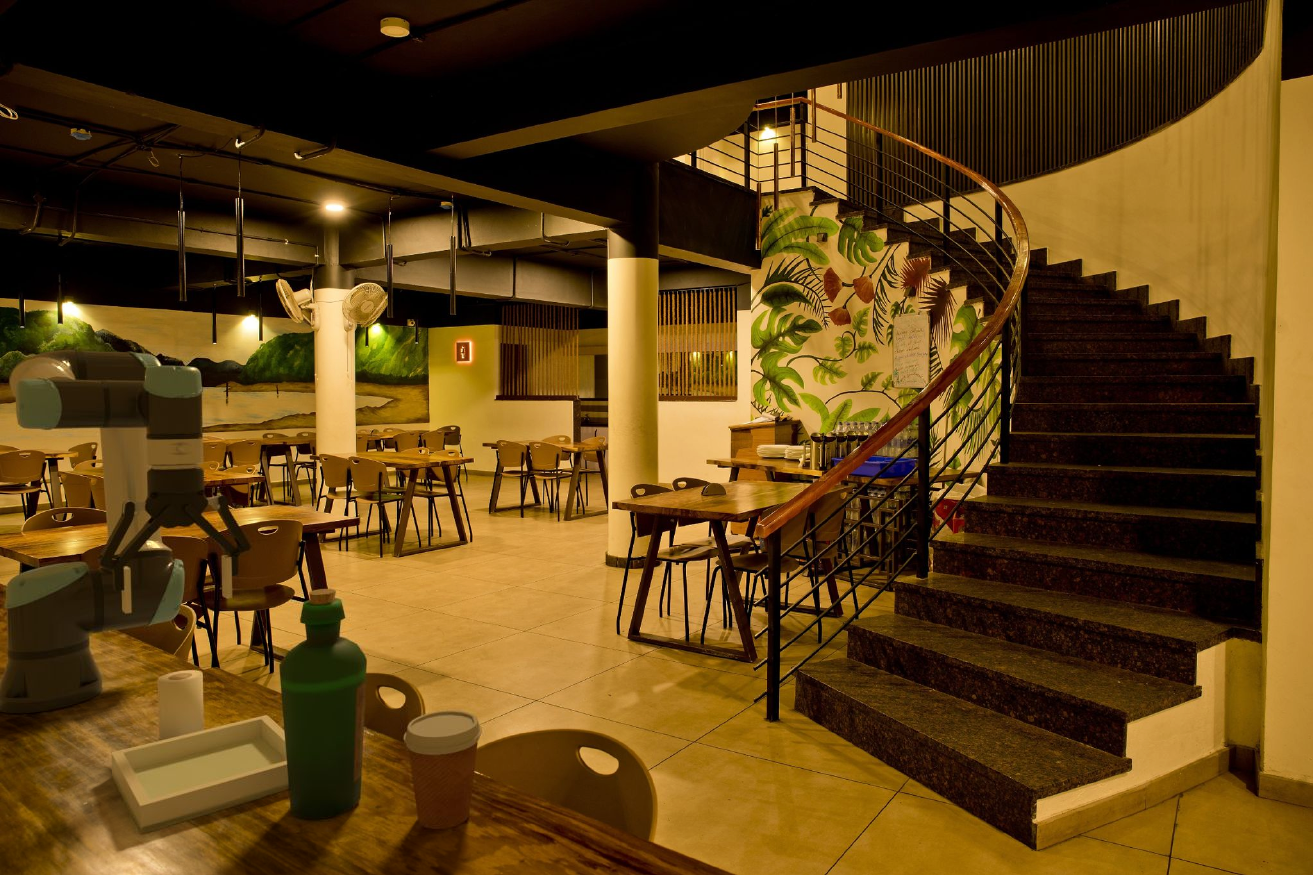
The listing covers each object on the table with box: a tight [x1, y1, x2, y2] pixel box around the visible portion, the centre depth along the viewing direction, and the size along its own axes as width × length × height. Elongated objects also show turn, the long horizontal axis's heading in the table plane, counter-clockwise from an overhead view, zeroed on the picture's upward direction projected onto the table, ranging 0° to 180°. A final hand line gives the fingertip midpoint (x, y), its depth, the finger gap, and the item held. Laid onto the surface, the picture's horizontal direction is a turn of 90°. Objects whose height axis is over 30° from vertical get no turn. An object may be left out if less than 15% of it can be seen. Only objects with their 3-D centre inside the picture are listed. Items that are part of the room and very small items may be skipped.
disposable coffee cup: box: [403, 710, 483, 830], centre depth 101 cm, size 10×10×12 cm
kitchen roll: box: [157, 669, 205, 741], centre depth 125 cm, size 6×6×10 cm
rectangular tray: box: [111, 714, 289, 835], centre depth 112 cm, size 20×20×4 cm
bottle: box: [279, 588, 368, 820], centre depth 104 cm, size 11×11×28 cm
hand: (178, 604), depth 124 cm, fingers open, 13 cm apart
